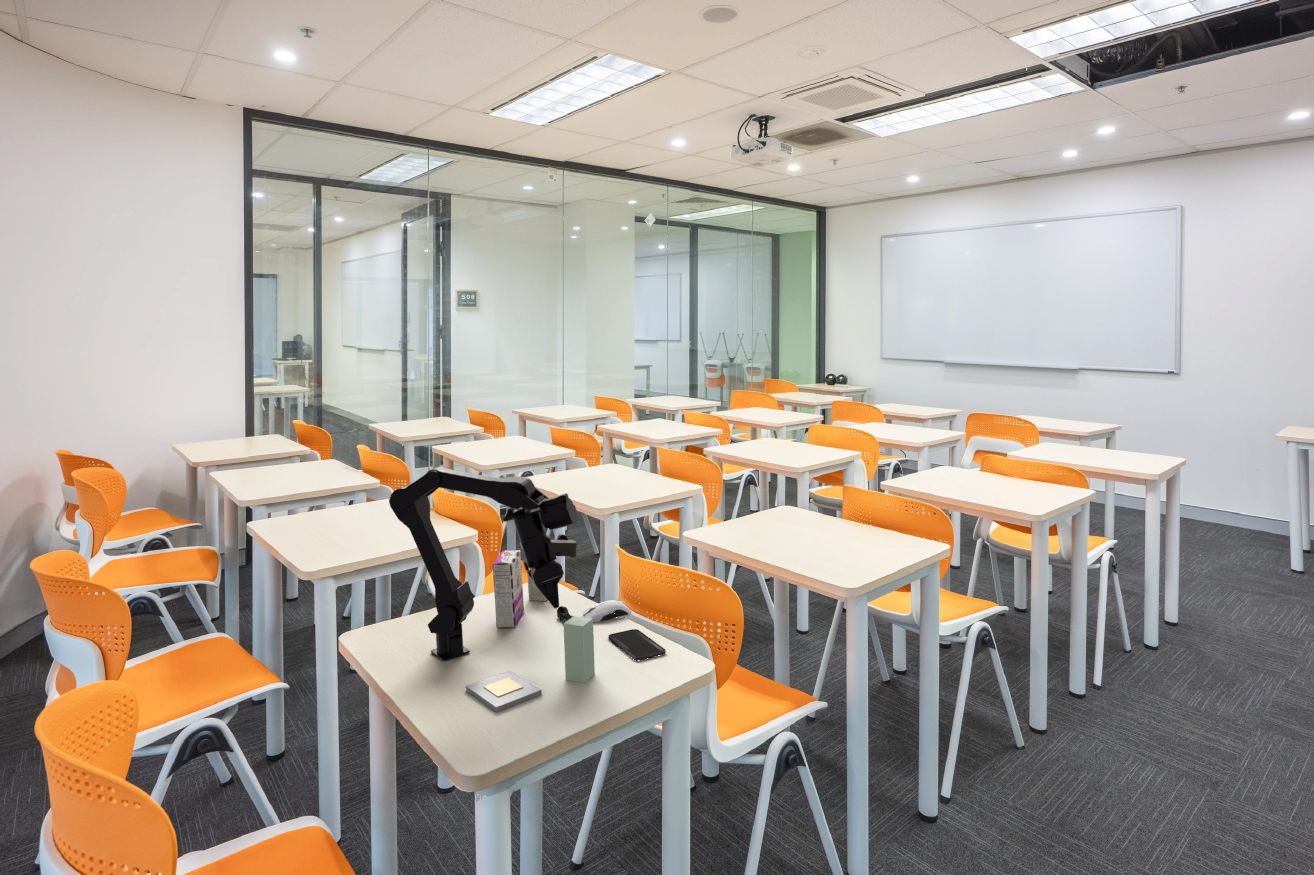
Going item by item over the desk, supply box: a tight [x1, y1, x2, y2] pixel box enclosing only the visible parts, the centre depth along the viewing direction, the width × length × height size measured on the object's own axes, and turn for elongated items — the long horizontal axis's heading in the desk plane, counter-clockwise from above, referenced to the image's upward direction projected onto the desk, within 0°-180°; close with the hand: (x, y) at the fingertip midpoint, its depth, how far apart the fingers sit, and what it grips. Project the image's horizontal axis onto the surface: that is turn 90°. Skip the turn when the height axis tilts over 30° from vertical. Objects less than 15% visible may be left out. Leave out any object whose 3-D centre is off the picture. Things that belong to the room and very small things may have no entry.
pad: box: [465, 669, 543, 713], centre depth 144 cm, size 12×10×1 cm
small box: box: [526, 572, 548, 602], centre depth 197 cm, size 5×4×8 cm
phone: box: [608, 628, 667, 661], centre depth 165 cm, size 8×1×15 cm
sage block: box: [563, 615, 596, 684], centre depth 149 cm, size 4×4×12 cm
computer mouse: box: [556, 599, 632, 624], centre depth 183 cm, size 10×18×4 cm, turn 116°
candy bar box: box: [492, 549, 525, 629], centre depth 181 cm, size 11×5×16 cm, turn 179°
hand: (553, 603), depth 158 cm, fingers open, 9 cm apart
